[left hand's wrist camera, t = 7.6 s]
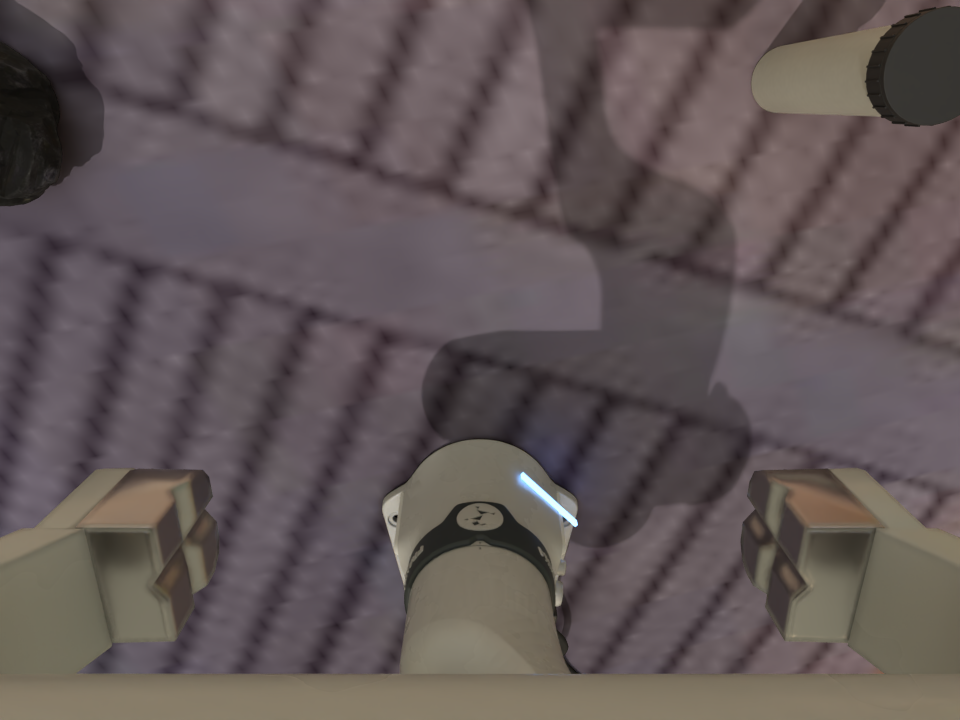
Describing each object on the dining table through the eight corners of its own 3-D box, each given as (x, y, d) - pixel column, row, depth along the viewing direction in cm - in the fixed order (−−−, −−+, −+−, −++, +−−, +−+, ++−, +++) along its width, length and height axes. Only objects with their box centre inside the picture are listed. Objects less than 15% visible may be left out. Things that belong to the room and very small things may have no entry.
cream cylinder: (744, 59, 52) (879, 36, 34) (808, 35, 51) (978, 0, 34) (758, 122, 54) (893, 131, 36) (819, 99, 53) (986, 98, 35)
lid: (856, 33, 36) (874, 30, 34) (967, -8, 35) (991, -14, 33) (872, 141, 38) (890, 142, 36) (978, 103, 37) (1002, 103, 35)
